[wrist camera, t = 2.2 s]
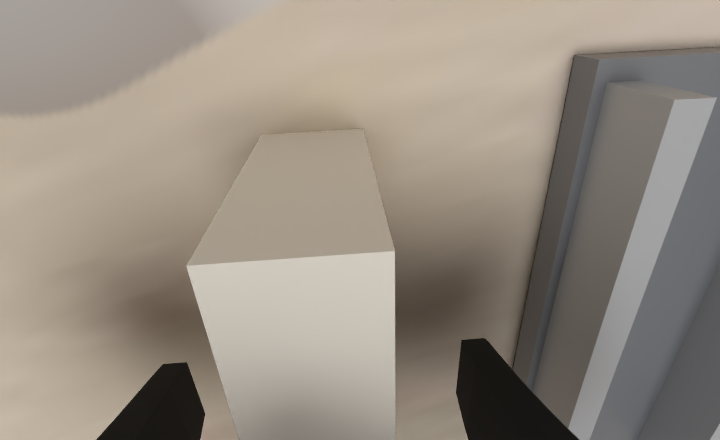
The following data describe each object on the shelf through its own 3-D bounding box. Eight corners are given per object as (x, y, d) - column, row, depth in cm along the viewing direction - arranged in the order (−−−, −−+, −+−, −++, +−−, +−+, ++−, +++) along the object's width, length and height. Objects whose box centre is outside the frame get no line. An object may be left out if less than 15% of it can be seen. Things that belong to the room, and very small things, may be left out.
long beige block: (374, 422, 16) (395, 626, 11) (310, 427, 16) (299, 637, 11) (362, 127, 10) (394, 251, 5) (262, 133, 10) (185, 266, 5)
